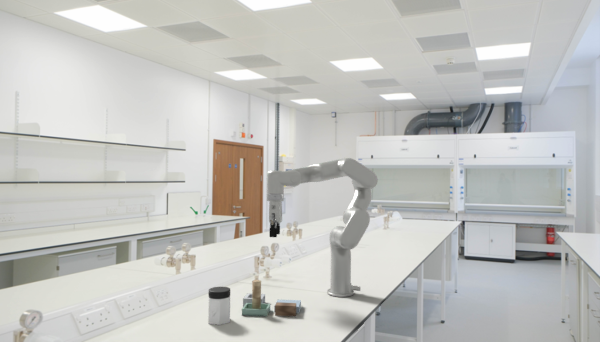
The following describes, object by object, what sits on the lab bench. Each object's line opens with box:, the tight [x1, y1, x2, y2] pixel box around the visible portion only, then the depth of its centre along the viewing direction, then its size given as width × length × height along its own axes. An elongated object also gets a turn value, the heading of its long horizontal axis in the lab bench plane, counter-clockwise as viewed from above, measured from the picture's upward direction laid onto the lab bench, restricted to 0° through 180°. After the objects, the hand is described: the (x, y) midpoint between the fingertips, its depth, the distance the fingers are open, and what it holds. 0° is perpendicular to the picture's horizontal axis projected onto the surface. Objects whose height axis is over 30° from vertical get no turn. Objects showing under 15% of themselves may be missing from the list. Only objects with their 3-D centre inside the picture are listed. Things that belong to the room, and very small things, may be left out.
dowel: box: [251, 279, 262, 309], centre depth 166 cm, size 4×4×12 cm
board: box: [273, 299, 302, 314], centre depth 171 cm, size 10×9×3 cm
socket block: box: [242, 292, 266, 308], centre depth 176 cm, size 8×8×4 cm
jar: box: [207, 286, 231, 326], centre depth 155 cm, size 9×8×12 cm
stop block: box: [274, 301, 297, 317], centre depth 164 cm, size 8×4×4 cm, turn 85°
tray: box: [241, 303, 271, 317], centre depth 166 cm, size 10×8×2 cm
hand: (274, 235), depth 186 cm, fingers open, 9 cm apart
